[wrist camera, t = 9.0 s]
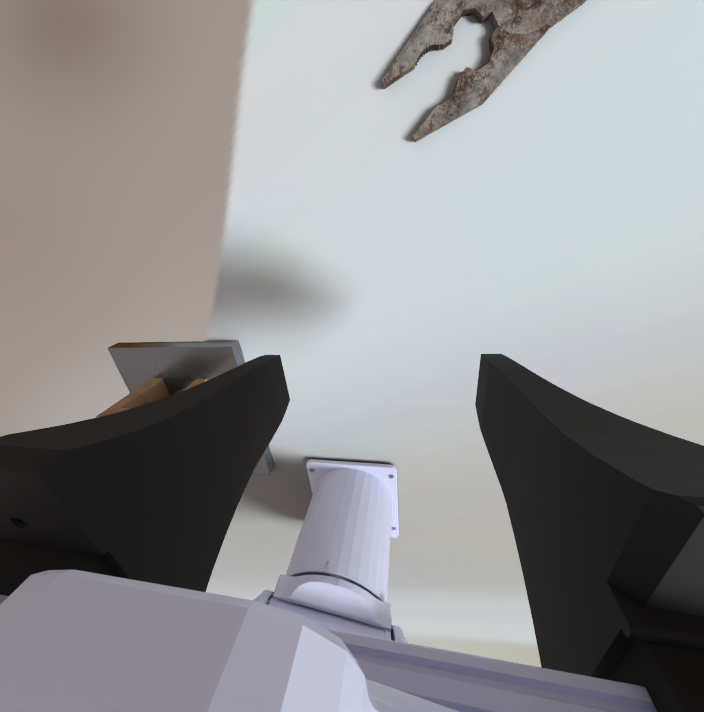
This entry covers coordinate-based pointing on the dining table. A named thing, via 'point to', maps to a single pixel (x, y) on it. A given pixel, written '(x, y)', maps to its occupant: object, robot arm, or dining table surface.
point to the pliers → (507, 44)
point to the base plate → (180, 368)
